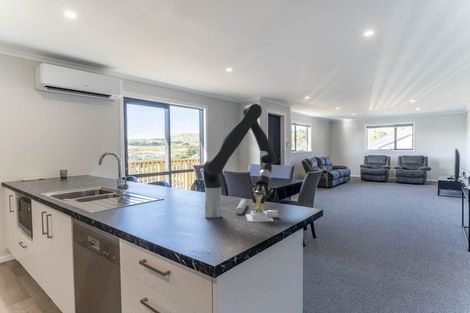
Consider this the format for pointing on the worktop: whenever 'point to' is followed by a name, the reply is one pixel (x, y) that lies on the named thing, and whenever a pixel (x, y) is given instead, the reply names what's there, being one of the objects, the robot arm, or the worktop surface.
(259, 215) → the socket
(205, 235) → the worktop surface
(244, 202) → the tube
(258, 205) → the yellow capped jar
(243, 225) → the worktop surface
